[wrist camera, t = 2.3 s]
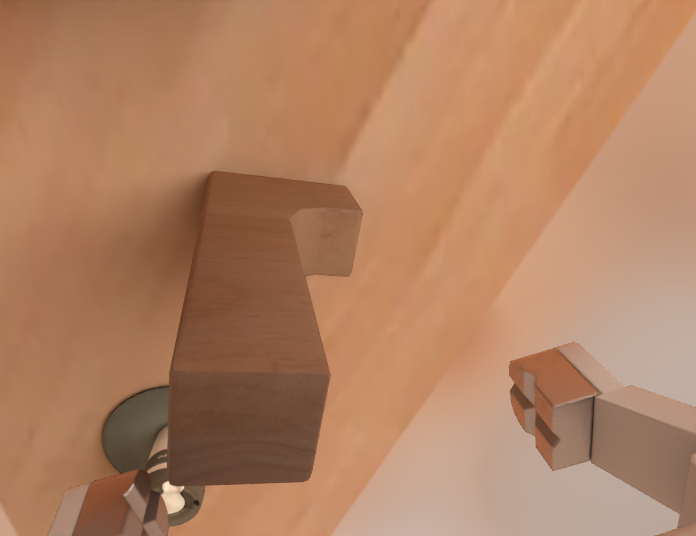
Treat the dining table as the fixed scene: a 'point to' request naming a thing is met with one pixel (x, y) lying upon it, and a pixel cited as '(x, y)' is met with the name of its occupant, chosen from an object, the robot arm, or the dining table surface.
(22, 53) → the dining table surface
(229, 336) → the wooden block
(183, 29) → the dining table surface
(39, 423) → the dining table surface
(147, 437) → the coffee cup
